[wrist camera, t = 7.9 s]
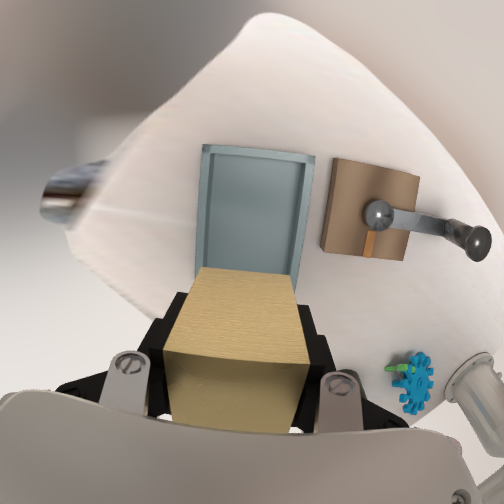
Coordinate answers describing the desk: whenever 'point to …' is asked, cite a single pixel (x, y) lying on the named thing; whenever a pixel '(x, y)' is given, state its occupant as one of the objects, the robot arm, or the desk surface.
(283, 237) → the tray
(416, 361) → the blue lobed piece
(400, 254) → the crank base
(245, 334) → the block
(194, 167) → the desk surface
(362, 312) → the desk surface
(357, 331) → the desk surface
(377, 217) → the crank
